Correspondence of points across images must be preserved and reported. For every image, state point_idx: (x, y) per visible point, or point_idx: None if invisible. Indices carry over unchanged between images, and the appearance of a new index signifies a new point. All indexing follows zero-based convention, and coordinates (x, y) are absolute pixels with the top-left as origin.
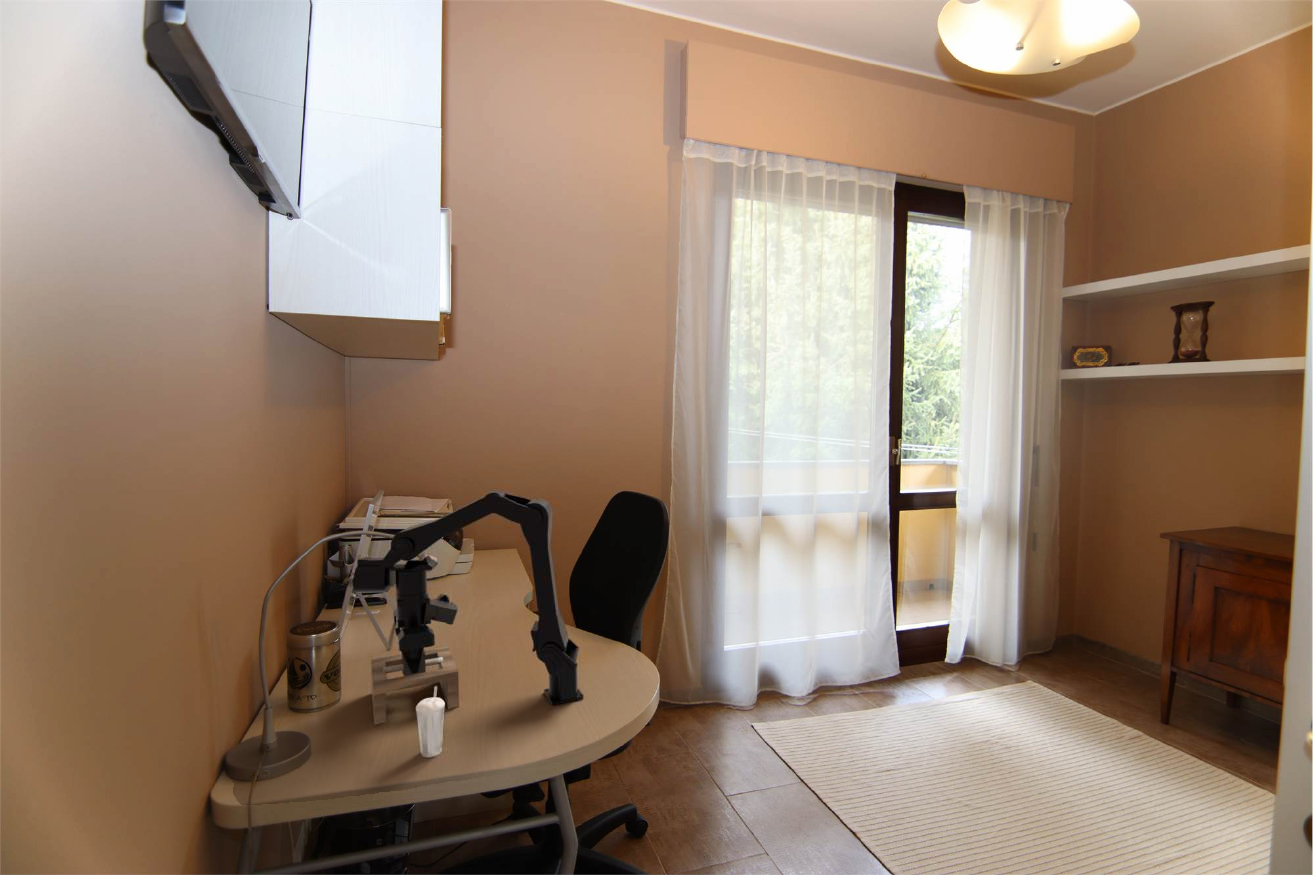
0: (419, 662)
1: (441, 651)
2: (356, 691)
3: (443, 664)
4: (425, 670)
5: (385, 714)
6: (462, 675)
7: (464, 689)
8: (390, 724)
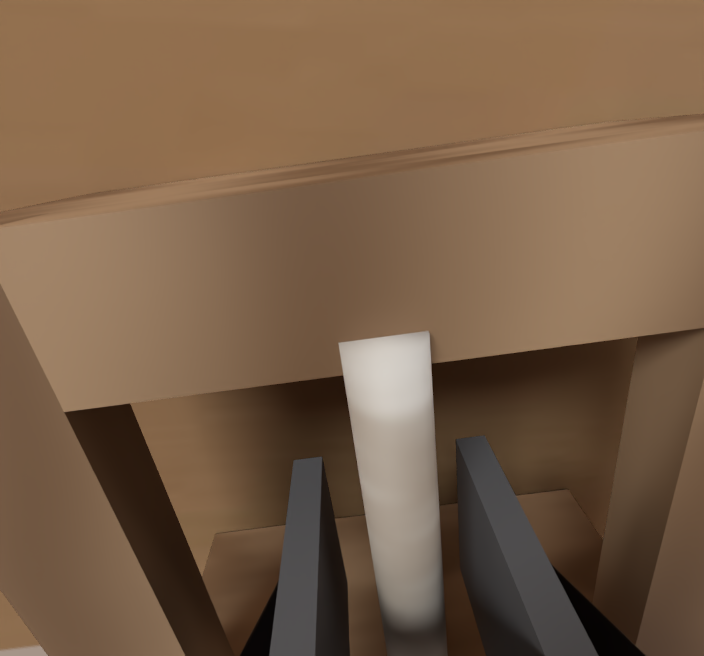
0: (630, 645)
1: (18, 358)
2: None
3: (562, 323)
4: (505, 479)
5: (587, 521)
6: (37, 71)
7: (331, 64)
8: (598, 471)
